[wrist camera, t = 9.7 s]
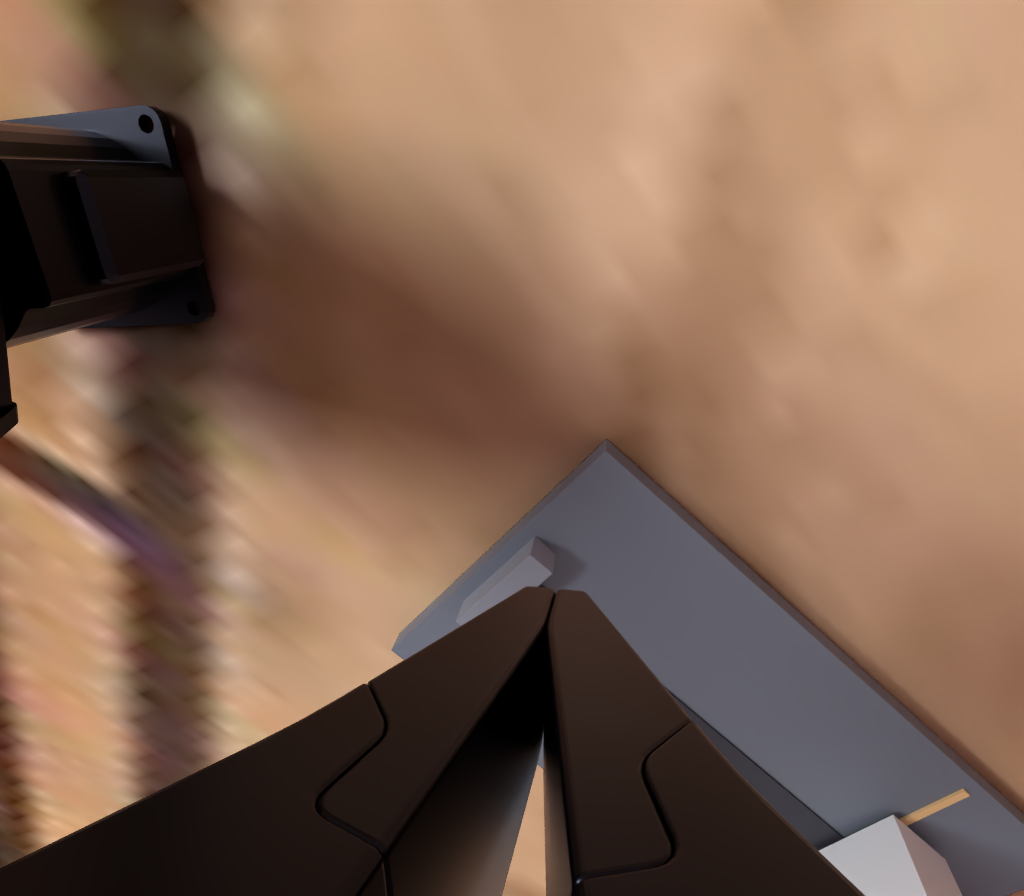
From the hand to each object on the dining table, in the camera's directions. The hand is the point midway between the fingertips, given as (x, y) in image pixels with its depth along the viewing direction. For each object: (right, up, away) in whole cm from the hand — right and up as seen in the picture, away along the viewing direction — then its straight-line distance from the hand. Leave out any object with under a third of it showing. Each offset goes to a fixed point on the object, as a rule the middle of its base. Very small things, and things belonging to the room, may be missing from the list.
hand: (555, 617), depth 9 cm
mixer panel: (+8, -9, +17) cm, 20 cm away
